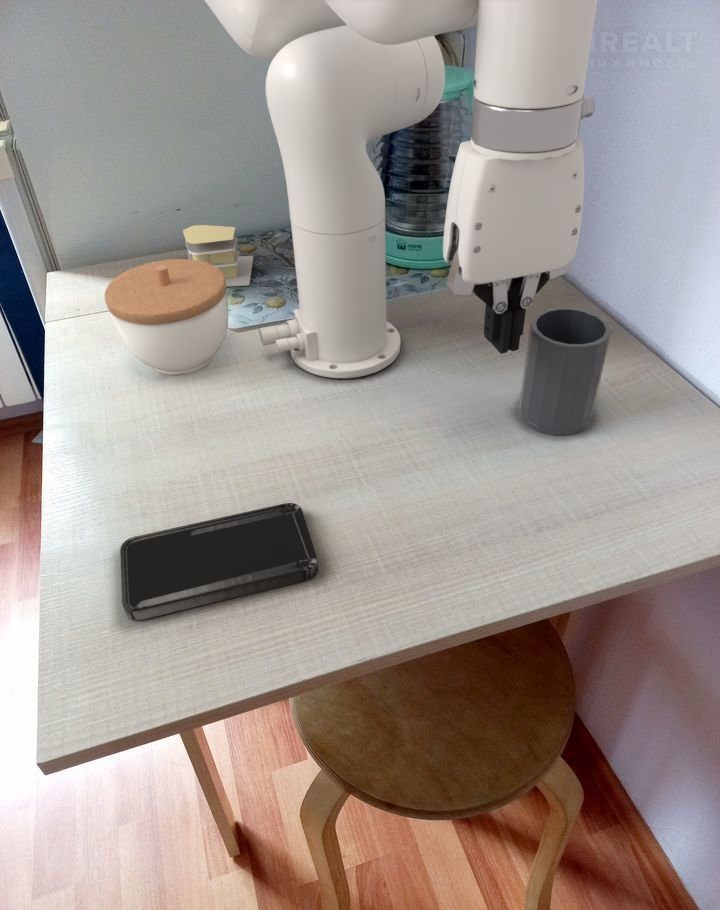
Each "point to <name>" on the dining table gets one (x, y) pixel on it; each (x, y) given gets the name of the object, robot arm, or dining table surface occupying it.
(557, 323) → the cup
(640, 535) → the dining table surface
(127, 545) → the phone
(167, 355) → the lidded bowl
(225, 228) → the stacked layers on plate
